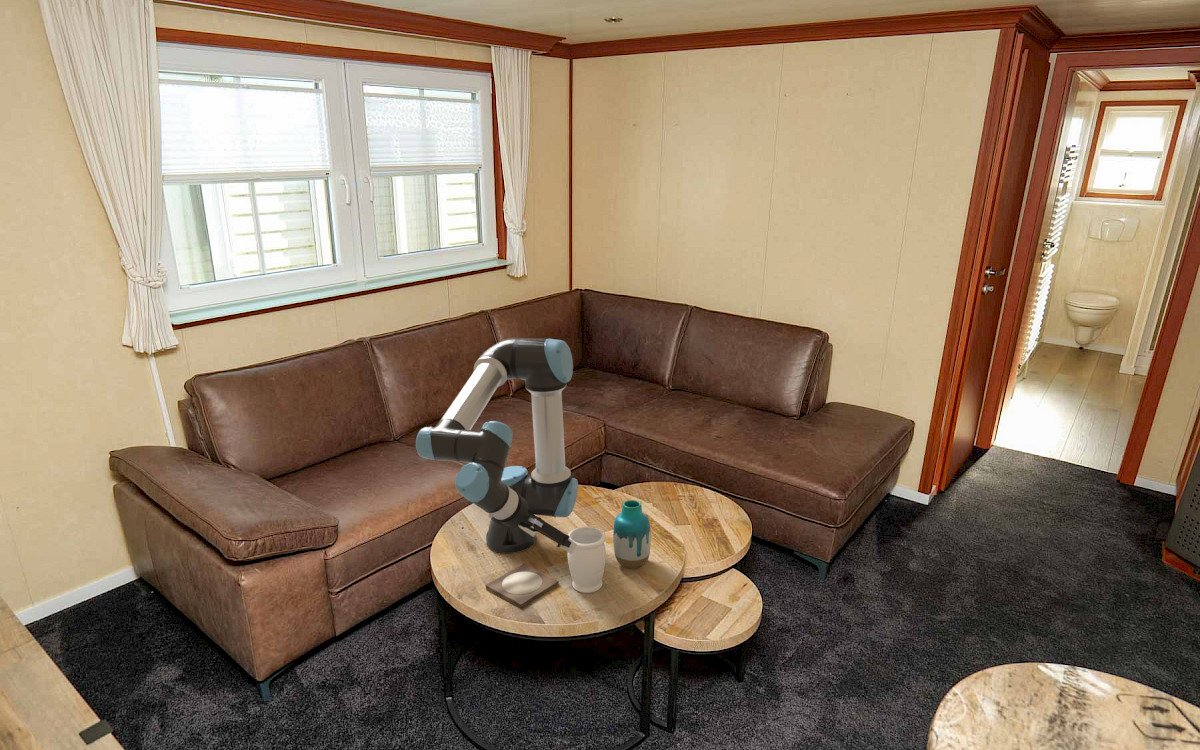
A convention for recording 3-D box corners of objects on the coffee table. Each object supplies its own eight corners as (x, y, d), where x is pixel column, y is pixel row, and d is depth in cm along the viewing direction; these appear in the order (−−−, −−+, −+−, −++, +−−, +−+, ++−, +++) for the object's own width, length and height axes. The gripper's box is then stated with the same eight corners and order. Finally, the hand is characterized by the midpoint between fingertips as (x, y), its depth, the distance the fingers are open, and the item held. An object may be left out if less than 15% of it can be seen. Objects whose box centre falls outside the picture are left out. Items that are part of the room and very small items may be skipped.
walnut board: (485, 588, 187) (485, 584, 187) (523, 567, 197) (523, 563, 197) (521, 608, 178) (520, 604, 178) (558, 584, 189) (558, 580, 188)
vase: (647, 576, 192) (648, 513, 187) (610, 572, 194) (609, 510, 189) (652, 556, 202) (653, 496, 197) (617, 553, 204) (616, 494, 199)
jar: (563, 578, 192) (561, 530, 187) (598, 571, 195) (597, 523, 191) (575, 599, 182) (574, 548, 178) (612, 591, 185) (611, 541, 181)
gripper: (464, 505, 167) (513, 538, 182) (535, 537, 151) (582, 570, 166) (480, 477, 170) (527, 512, 184) (551, 506, 154) (597, 542, 168)
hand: (553, 540), depth 175 cm, fingers open, 13 cm apart
